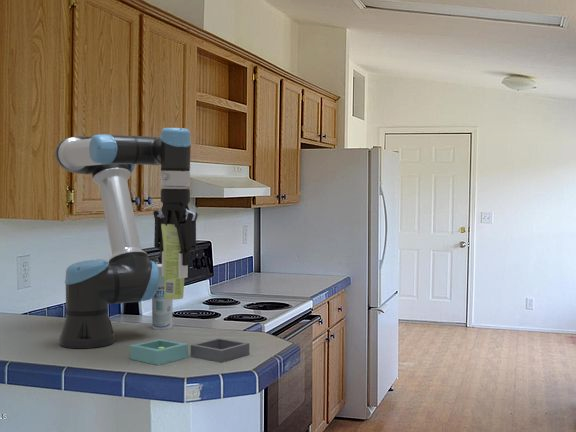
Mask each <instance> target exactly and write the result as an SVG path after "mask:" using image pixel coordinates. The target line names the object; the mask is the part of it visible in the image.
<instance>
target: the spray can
mask: <svg viewBox="0 0 576 432" xmlns="http://www.w3.org/2000/svg"><path fill="white" fill-rule="evenodd" d="M156 264H157V266H158V269H159V284H158V289H157V291H156V294H155V295H154V297H153V298H152V299H151V312H152V313H151V315H152V320H151V322H152V327H151V328H152V329H153V330H155V331H167V330H171V329H173V299H166V298H164V276H162V263H156Z"/></svg>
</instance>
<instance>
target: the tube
mask: <svg viewBox="0 0 576 432" xmlns="http://www.w3.org/2000/svg"><path fill="white" fill-rule="evenodd" d="M161 229H162V236H163V251H164V298H166V299H172V300H182V299H183V298H184V291H185V278H181V279H180V278H178V261H179V252H180V251H181V248H180V243H179V238H178V232H177V228H176V227H175V224H167V226H166V225H165V224H161ZM185 248H186V247H185Z"/></svg>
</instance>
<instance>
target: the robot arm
mask: <svg viewBox="0 0 576 432" xmlns="http://www.w3.org/2000/svg"><path fill="white" fill-rule="evenodd" d="M191 145H192V142H191V132H190V130H189V129H188V128H185V127H184V128H183V127H164V128H162V129H161V131H160V136H148V135H147V136H146V135H144V136H143V135H121V134H120V135H119V134H110V133H109V134H108V133H106V134H105V133H104V134H103V133H102V134H95V135H93V136H85V135H84V136H81V135H79V136H71V137H67V138H64V139H62V140H61V141H60V142H59V143H58V144H57V146H56V147H55V150H54V152H55V153H54V156H55V157H54V158H55V161H56V162H57V164H58V165H59V166H60V167H61V169H63V170H65V171H67V172H69V173H72V174H77V175H91V176H92V181H93V183H94V184H96V185H97V186H99V191H100V196H101V201H102V207H103V211H104V213H103V214H104V217H105V223H106V228H107V233H108V241H109V244H110V249H111V254H112V255H111V257H109V259H103V258H102V259H101V258H99V259H97V258H96V259H89V260H88V259H87V260H83V261H78V262H75V263H72V264H70V265H68V267H67V268H66V271H65V280H64V284H65V319H64V322H63V325H62V329H61V332H60V335H59V346H61V347H64V348H70V349H92V348H100V347H101V348H102V347H106V346H109V345H112V344H114V343H115V341H116V335H115V331H114V329H113V326H112V325H113V324H112V322H111V319H110V317H109V305H114V304H115V305H116V304H118V305H119V304H127V303H140V302H144V301H150V300H152V298H153V297H154V295H155V294H156V291H157V289H158V284H159V269H158V266H157V264H158V263H156V261H152V260H149V256H148V253H147V252H146V251H144V250H143V249H142V247H141V243H140V237H139V232H138V227H137V222H136V217H135V213H134V209H133V203H132V199H131V193H130V188H129V184H128V180H129V179H130V178H131V175H132V174H133V171H134V169H135V165H143V166H144V165H146V166H147V165H148V166H160V186H161V187H162V188H161V189H160V202H161V203H162V206H161V208H160V209H158V210H153V217H154V241H153V243H154V244H153V246H154V248H155V249H158V250H159V252H160V256H159V257H160V264H162V276H164V251H163V236H162V229H161V224H165V225H166V226H167V224H175V227H176V228H177V232H178V238H179V243H180V248H181V251H180V252H179V261H178V278H180V279H181V278H184V279H187V278H188V274H189V272H188V270H189V265H190V254H191V252H194V251H196V250H197V219H198V213H197V212H192V211H190V208H189V203H190V202H191V190H190V189H189V188H188V187H191V147H192V146H191ZM185 247H186V248H185Z"/></svg>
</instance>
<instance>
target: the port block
mask: <svg viewBox="0 0 576 432" xmlns="http://www.w3.org/2000/svg"><path fill="white" fill-rule="evenodd" d="M129 353H130V354H129V359H130V360H133V361H137V362H142V363H147V364H151V365H156V366H160V365H164V364H168V363H172V362H176V361H180V360H183V359H186V358H187V359H188V358H189V344H188V343H185V342H179V341H174V340H169V339H165V338H158V339H154V340H148V341H145V342H140V343H136V344H131V345H129Z"/></svg>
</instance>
